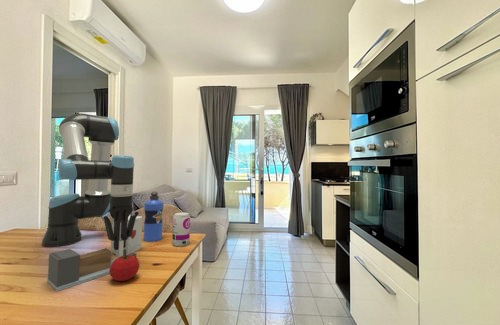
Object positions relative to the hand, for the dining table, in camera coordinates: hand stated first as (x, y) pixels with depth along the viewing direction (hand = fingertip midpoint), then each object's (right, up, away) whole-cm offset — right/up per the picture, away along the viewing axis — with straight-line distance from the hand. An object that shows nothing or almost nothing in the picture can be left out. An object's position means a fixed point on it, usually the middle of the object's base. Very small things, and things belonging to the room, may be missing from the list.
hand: (119, 257), depth 86 cm
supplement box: (-5, -4, +15) cm, 16 cm away
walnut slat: (-6, -2, -9) cm, 11 cm away
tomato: (+8, -3, -11) cm, 14 cm away
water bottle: (-1, -4, +33) cm, 33 cm away
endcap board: (-5, -3, -6) cm, 8 cm away
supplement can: (+16, -4, +26) cm, 30 cm away
